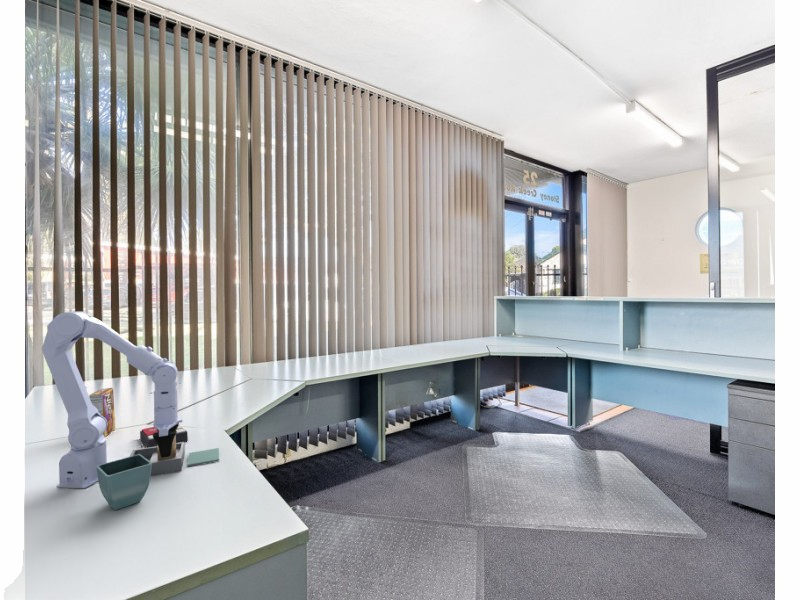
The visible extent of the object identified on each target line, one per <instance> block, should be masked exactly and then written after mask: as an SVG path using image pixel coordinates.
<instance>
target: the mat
mask: <svg viewBox="0 0 800 600" xmlns="http://www.w3.org/2000/svg"><path fill="white" fill-rule="evenodd" d="M219 450H220V449H219V447H217V448H211V449H204V450H199V451H194V452H189V453H188V460H187V465H186V466H187V467H188V468H189V467H194V465H195V466H199V465H198V464H200V465H205V464H204V463H206V464H210V463H209V462H211V463H215V462H214V461H217V462H219V461H220V451H219ZM218 460H219V461H218Z"/></svg>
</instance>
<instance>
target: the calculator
mask: <svg viewBox="0 0 800 600" xmlns="http://www.w3.org/2000/svg"><path fill="white" fill-rule="evenodd" d="M176 431H177V433H176V443H181V442H185V443H188V442H189V440H188V438H189V437H188V430H186V429H184V428H183V426H181V425H179V426H178V427H177V430H176ZM156 432H158V431H157V430H156V428H155V427H154V426H149V427H146V428H143V429H141V430H139V440H140V441H141V443H142V444H143V445H144V446H145V448H149V447H155V446H157V443H156V441H155V439H154V438H153V433H156ZM187 441H188V442H187Z"/></svg>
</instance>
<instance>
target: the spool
mask: <svg viewBox="0 0 800 600" xmlns="http://www.w3.org/2000/svg"><path fill="white" fill-rule="evenodd" d="M174 457H176V435H175V437H174V439H173V443H172V450H171V455H170V456H169V457H164V458H161V455H160V452H159V448H158V445H157V458H158V460H160V461H162V460H167V459H172V458H174Z"/></svg>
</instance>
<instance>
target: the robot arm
mask: <svg viewBox="0 0 800 600" xmlns="http://www.w3.org/2000/svg"><path fill="white" fill-rule="evenodd" d="M46 328H47V329H46V330H47V331H46V334H45V338H44V340H43V343H42V347H41V352H42V354H43V357H44V360H45V362H46V365H47V367H48V369H49V371H50V374H51V377H52V379H53V381H54V384H55V386H56V389H57V391H58V393H59V395H60V398H61V400H62V403H63V405H64V408H65V411H66V413H67V423H66V425H67V428H68V435H67V441H68V443H69V445H70V449H69V451H68V452H66V454H64V455H63V456H61V458H60V460H59V462H58V463H59V464H58V476H59V477H58V479H59V482H58V484H57V485H56V488H62V489H63V488H64V489H65V488H70V489H86V488H88V487H89V486H92V485H93V484H96V483H97V482H98V475H97V468H96V467H97V466H98V465H101V464H105V463H108V462H107V461H108V460H107V458H108V457H107V456H108V455H107V437H104V435H103V433H104V432H105V431H106V429H107V426H108V423H107V420H106V419H105V418H104V417H103V416H102V415H100V413H99V412H98V409H97V408H96V407H95V406H93V405H92V403H91V400H90V398H89V395H90V394H89V393H88V391H87V388H86V385H85V383H84V381H83V378H82V375H81V373H80V371H79V369H78V366H77V363H76V361H75V358H74V356H73V353H72V351H71V350H72V348H73V347H74V346H75V344H76V342H78V340H79V339H80V338H85V339H86V338H87V339H98V340H99V341H101V342H102V343H104V344H106V345H108V346H110V347H112V348H113V349H115V350H117V352H120V353H121V354H123V355H124V356H126V363H127V364H129V365H130V366H132V367H133V368H135V369H137V370H139V371H140V372H141V373H143V374H145V376H146V377H147V376H148V377H150V378H151V381H152V382H153V384H154V391H153V411H154V412H153V419H154V420H153V421H154V422H153V425H152V426H153V427H155V428H156V430H157V431H158V432H156V433H153V438H154V439H155V441H156V443H157V445H158V448H159V452H160V455H161V458H164V457H169V456H170V455H171V450H172V443H173V439H174V437H175V435H176V433H177V431H176V430H177V427H178V426H180V423H183V420H184V419H183V417H181V418H179V415H178V413H179V410H178V409H179V407H178V403H179V402H178V401H179V400H178V382H177V377H178V376H177V375H178V373H179V372H178V368H177V366H176V364H174V362H173V361H168V359H167V358H166V357H164V358H163V357H161V356H159V354H157V353H155V352H154V351H153V348H152V347H151V346H146V345H134V343H132V342H131V341H129V340H128V339H127V338H126V337H123V336H122V335H121V334H120V333H118V332H117V331H115V329H113V328H111V327H110V326H109V325H107V324H106V323H105V322H103V321H101V320H100V319H98V318H96V317H94V316H91V315H90V314H89V313H88V312H85V311H79V310H76V311H72V312H69V311H68V312H67V311H66V312H62V313H59V314H57V315H56V316H55V317H54V318H53V319H52V320H51V321H50V322H49V323H48V324H47V325H46Z"/></svg>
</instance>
